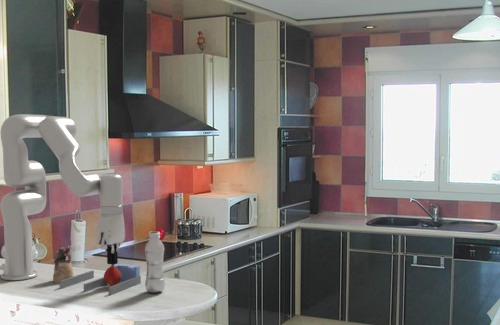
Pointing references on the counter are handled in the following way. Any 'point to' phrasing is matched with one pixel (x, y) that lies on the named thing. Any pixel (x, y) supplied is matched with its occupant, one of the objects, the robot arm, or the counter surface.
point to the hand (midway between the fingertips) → (112, 263)
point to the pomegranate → (112, 276)
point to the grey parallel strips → (99, 282)
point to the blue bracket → (128, 271)
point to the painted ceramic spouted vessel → (62, 265)
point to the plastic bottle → (154, 263)
